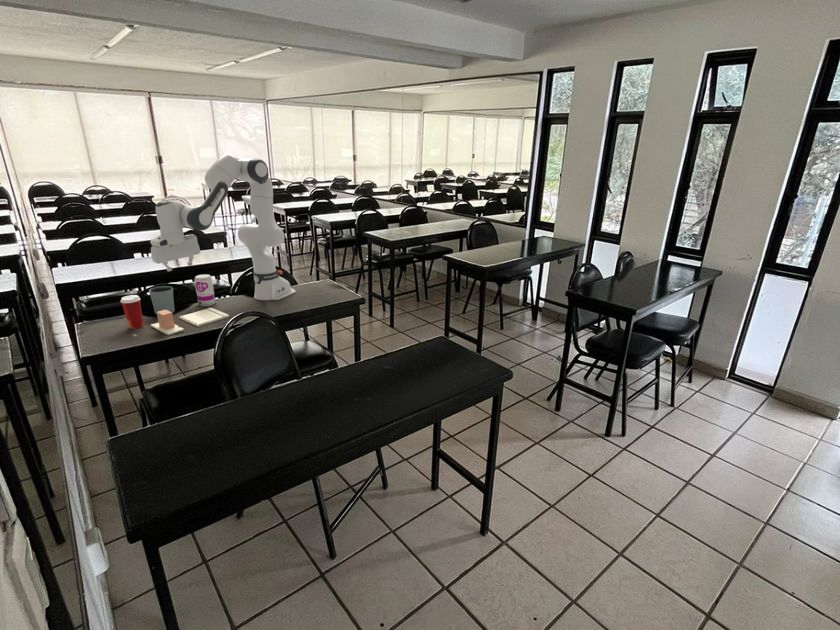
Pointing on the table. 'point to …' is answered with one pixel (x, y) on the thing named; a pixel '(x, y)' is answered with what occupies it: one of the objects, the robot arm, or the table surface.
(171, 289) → the drinking glass
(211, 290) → the supplement can
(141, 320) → the paper cup
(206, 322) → the white flat square board
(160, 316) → the stub
